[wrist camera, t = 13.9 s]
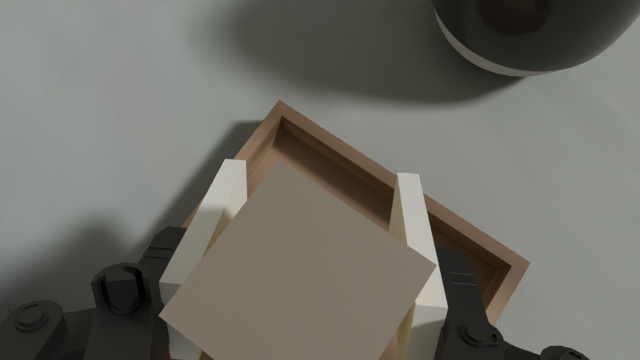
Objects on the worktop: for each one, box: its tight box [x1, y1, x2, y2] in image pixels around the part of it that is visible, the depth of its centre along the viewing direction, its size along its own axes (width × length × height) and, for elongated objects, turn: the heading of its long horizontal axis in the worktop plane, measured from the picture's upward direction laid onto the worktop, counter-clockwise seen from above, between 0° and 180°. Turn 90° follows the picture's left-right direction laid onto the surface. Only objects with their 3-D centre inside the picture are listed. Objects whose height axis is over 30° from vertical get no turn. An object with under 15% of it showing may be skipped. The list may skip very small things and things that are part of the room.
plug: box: [158, 159, 437, 360], centre depth 16 cm, size 4×4×12 cm
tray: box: [162, 100, 530, 360], centre depth 22 cm, size 14×14×2 cm
